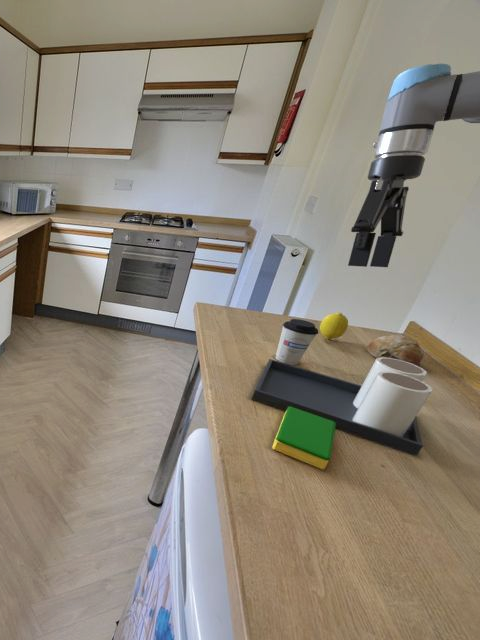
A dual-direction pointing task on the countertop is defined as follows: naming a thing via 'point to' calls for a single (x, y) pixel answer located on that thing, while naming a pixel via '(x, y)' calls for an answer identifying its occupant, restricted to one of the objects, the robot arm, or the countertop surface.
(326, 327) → the lemon
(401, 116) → the robot arm
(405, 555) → the countertop surface
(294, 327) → the coffee cup
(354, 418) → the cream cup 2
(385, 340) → the bread roll
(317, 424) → the dish sponge
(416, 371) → the cream cup
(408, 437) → the cup tray
